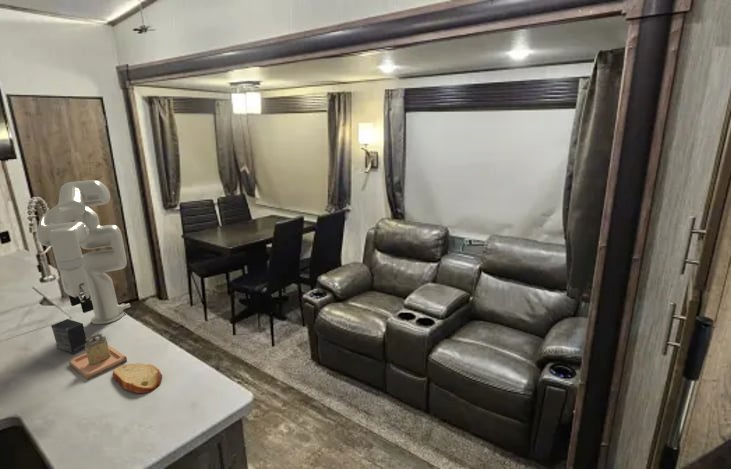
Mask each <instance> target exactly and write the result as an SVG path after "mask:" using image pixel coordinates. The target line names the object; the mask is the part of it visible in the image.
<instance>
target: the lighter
mask: <svg viewBox="0 0 731 469" xmlns="http://www.w3.org/2000/svg"><path fill="white" fill-rule="evenodd" d="M85 341H86V343H85V348H84V350H85V353H86V354H87V358H88V361H89V364H90V365H93V364H96V363H99V362H102V361H104V360H105V359H107V358H109V357H110V356H111V355H110V351H109V347H108V345H109V344H108V340H107V337H106V336H103V334H100V333H97V334H92V335H90V336H89V337H86V339H85Z"/></svg>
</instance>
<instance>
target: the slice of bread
mask: <svg viewBox="0 0 731 469" xmlns="http://www.w3.org/2000/svg"><path fill="white" fill-rule="evenodd" d="M111 376H112V378H113V380H114V381H115V382H116V383H117V384H118V385H119V386H120V387H121V388H123V389H125V390H127V391H129V392H132V393H135V394H147V393H151V392H153V391H155V390H156V389H158V388H159V387H160V386H161V382H162V378H163V374H162V373H161V371H160V369H158V368H157V367H156V366H155V365H153V364H149V363H147V364H145V363H140V362H139V363H129V364H124V365H119V366H116V367H114V369H113V371H112V374H111Z"/></svg>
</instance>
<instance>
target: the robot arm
mask: <svg viewBox="0 0 731 469" xmlns="http://www.w3.org/2000/svg"><path fill="white" fill-rule="evenodd" d="M110 200H111V194H110V190H109V188H108V187H107V186H106V185H105V184H104V183H103V182H101V181H100V180H97V179H96V180H95V179H89V180H79V181H77V180H76V181H68V182H66V183H64V184H62V186H61V187H60V190H59V196H58V202H57V205H55V206H54V207H51V209H49V210H47V211H46V212H45V213H43V215H42V216H41V217H40V218H39V221H38V226H37V231H36V232H37V234H36V235H37V239H38V242H39V243H40V244H41V245H42V246H44V247H45V246H46V247H51V248H52V252H53V256H54V259H55V264H56V267H57V270H58V271H59V273H60V279H61V284H62V288H63V292H64V293H65V294H67V295H68V299H69V301H70V305H71V306H72V307H74V306H77V305H80V307H81V311H82V313H83V314H86V313H88V312H92V311H93V314H94V315H93V317H91V323H92V324H94V325H105V324H109V323H113V322H115V321H118V320H120V319H121V318H123V317H124V315H125V311H124V310H125V309H128V308H131V303H129V302H128V303H121V304H118V298H117V296H116V291H115V287H114V286H115V285H114V282H113V279H112V278H111V276H110V275H109V274H107V273H108V272H113V271H121V270H122V269H125V268H126V267H127V264H128V263H127V262H128V261H127V255H126V254H127V253H126V250H125V243H124V239H123V234H122V231H121V229H120V227H119V226H118V225H116V224H105V225H101V224H100V218H99V215H98V214H97V213H96V211H94V210H93V209H92V208H90V207H96V206H102V205H103V206H104V205H108V204H109V203H110ZM107 247H108V248H109V247H110V248H111V249H105V250H104V249H103V248H107ZM100 248H102V249H103V250H97V251H91V252H87V253H84V254H83V252H82V249H83V250H95V249H100Z"/></svg>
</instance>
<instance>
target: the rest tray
mask: <svg viewBox="0 0 731 469" xmlns="http://www.w3.org/2000/svg"><path fill="white" fill-rule="evenodd" d="M108 347H109V351H110V355H111V356H110V357H109V358H107V359H105V360H104V361H102V362H99V363H96V364H93V365H90V364H89V361H88V358H87V354H86V352H85V353H83V354H81V355H78V356H75V357H74V358H73V357H72V358H71V359H69V360H68V364H69V365H70V367H72V368H73V369H75V371H77V372H78V373H79V374H81V375H82V376H83V377H84V378H85V379H86V380H91V379H92V378H94V377H96V376H98V375H100V374H103V373H106V372H107V371H109V370H111V369H113V368H116V367H119V366H121V365H122V364H123V363H126V362H128V358H127V356H126V355H124V354H123V353H121V352H120V351H118V350H117V349H115V348H114V347H112V346H111V345H109V344H108Z"/></svg>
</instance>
